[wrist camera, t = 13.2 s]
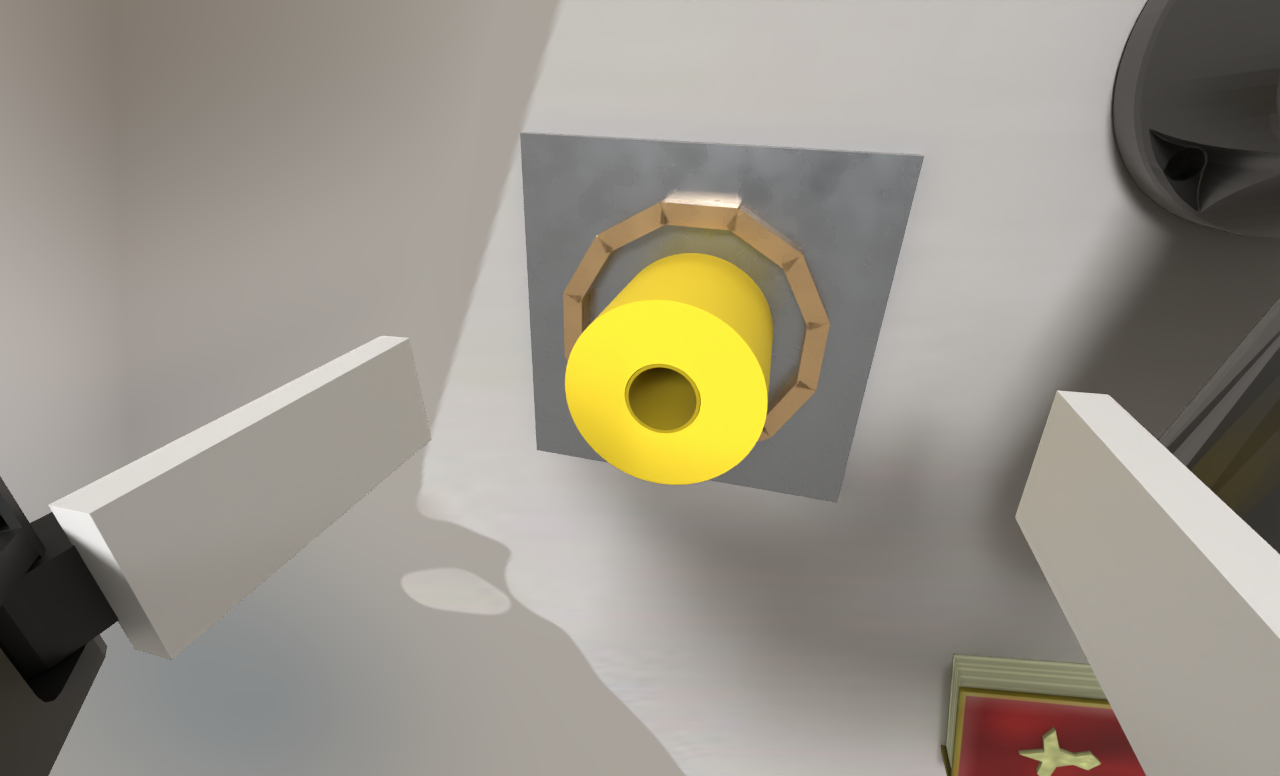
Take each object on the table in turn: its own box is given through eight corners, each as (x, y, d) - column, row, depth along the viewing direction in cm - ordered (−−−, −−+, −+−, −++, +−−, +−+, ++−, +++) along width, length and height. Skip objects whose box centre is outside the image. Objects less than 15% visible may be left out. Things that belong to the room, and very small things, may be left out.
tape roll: (641, 229, 33) (592, 268, 25) (800, 287, 32) (803, 347, 24) (599, 370, 38) (547, 441, 30) (737, 423, 37) (722, 511, 29)
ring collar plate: (920, 154, 29) (930, 158, 27) (835, 493, 39) (838, 516, 37) (527, 132, 33) (509, 133, 31) (542, 443, 43) (528, 460, 41)
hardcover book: (1249, 780, 42) (1293, 844, 38) (939, 744, 48) (951, 796, 44) (1297, 669, 37) (1353, 731, 33) (946, 645, 43) (961, 695, 39)
